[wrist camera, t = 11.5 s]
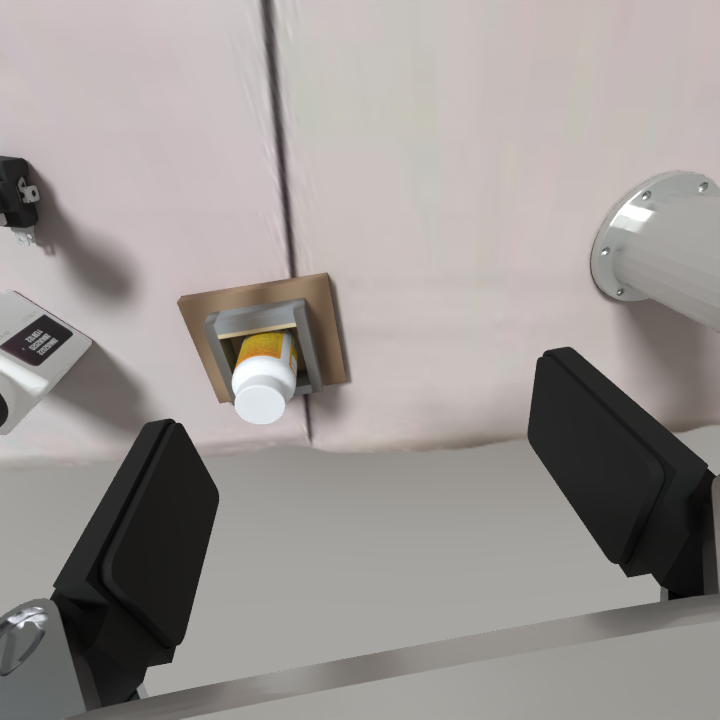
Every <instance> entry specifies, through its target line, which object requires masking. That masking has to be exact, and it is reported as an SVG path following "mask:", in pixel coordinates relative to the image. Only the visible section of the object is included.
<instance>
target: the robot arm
mask: <svg viewBox="0 0 720 720" xmlns="http://www.w3.org/2000/svg"><path fill="white" fill-rule="evenodd" d="M591 269H592V275H593V277H594V280H595V282H596V284H597V285H598V287H599V288H600V289H601V290H602V291H603V292H605V293H606V294H608V295H609V296H611V297H613V298H615V299H618V300H622V301H641V300H647V299H650V298H651V299H653V300H655V301H657V302H659V303H661V304H663V305H665V306H667V307H669V308H671V309H673V310H675V311H677V312H679V313H681V314H683V315H685V316H687V317H689V318H691V319H693V320H695V321H697V322H699V323H701V324H703V325H705V326H707V327H708V328H710V329H712V330H714V331H716V332H718V333H720V189H719V187H718V186H717V185H716V184H715V182H714V181H713V180H712V179H710V178H708V177H706V176H705V175H703V174H698V173H693V172H680V171H678V172H672V173H666V174H663V175H660V176H658V177H655V178H652V179H651V180H649V181H647V182H645V183H643V184H642V185H640V186H639V187H637V188H636V189H635V190H633V191H632V192H630V193H629V194H628V195H627V196H626V197H625V198H624V199H623V200H622V201H621V202H620V203H619V204H618V205H617V206H616V207H615V208H614V209H613V211H612V212H611V213H610V214H609V216H608V217H607V219H606V220H605V222H604V224H603V225H602V227H601V229H600V231H599V233H598V235H597V238H596V240H595V243H594V247H593V251H592V257H591ZM528 439H529V442H530V444H531V446H532V447H533V449H534V451H535V452H536V454H537V455H538V457H539V458H540V460H541V461H542V462H543V464H544V465H545V467H546V468H547V470H548V471H549V473H550V474H551V476H552V477H553V479H554V480H555V482H556V483H557V485H558V486H559V488H560V489H561V491H562V492H563V494H564V495H565V497H566V498H567V500H568V501H569V502H570V504H571V505H572V507H573V508H574V510H575V511H576V513H577V514H578V516H579V517H580V519H581V520H582V522H583V523H584V525H585V526H586V528H587V529H588V530H589V532H590V533H591V535H592V536H593V538H594V539H595V541H596V542H597V544H598V545H599V547H600V548H601V550H602V551H603V552H604V554H605V556H606V557H607V558H608V559H609V560H610V561H611V562H612V563H614V564H619V566H620V567H621V569H622V570H623V571H624V573H625V574H626V576H627V577H634V576H639V575H645V574H650V573H651V574H652V575H653V577H654V578H655V579H656V581H657V582H658V583H659V585H660V586H661V592H660V594H661V595H660V602H657V603H652V604H646V605H638V606H633V607H626V608H620V609H614V610H608V611H602V612H597V613H591V614H586V615H581V616H575V617H569V618H564V619H558V620H553V621H547V622H542V623H537V624H531V625H525V626H520V627H514V628H509V629H503V630H498V631H492V632H487V633H482V634H476V635H470V636H465V637H460V638H454V639H449V640H444V641H438V642H433V643H428V644H422V645H417V646H411V647H406V648H401V649H395V650H390V651H385V652H379V653H374V654H369V655H363V656H358V657H353V658H347V659H342V660H337V661H332V662H326V663H321V664H316V665H310V666H305V667H300V668H295V669H290V670H284V671H279V672H275V673H269V674H264V675H259V676H253V677H248V678H243V679H238V680H233V681H227V682H222V683H217V684H212V685H207V686H202V687H196V688H191V689H186V690H182V691H177V692H173V693H168V694H163V695H158V696H153V697H148V694H147V692H146V689H145V687H144V684H143V680H144V677H145V673H146V670H147V667H150V666H155V665H161V664H167V663H172V659H173V656H174V652H175V649H176V646H177V645H180V644H181V642H182V641H183V639H184V636H185V633H186V629H187V625H188V621H189V617H190V614H191V610H192V605H193V602H194V598H195V594H196V590H197V586H198V582H199V578H200V574H201V570H202V566H203V562H204V559H205V555H206V551H207V547H208V543H209V539H210V535H211V531H212V527H213V523H214V519H215V515H216V511H217V507H218V503H219V493H218V490H217V487H216V485H215V484H214V482H213V480H212V478H211V476H210V474H209V473H208V471H207V469H206V467H205V465H204V463H203V461H202V460H201V458H200V456H199V454H198V452H197V450H196V448H195V447H194V445H193V443H192V441H191V439H190V437H189V436H188V434H187V432H186V430H185V428H184V426H183V425H182V424H181V423H176V422H175V421H174V420H173V419H164V420H159V421H153V422H148V423H146V424H145V425H144V427H143V428H142V430H141V432H140V434H139V435H138V437H137V439H136V441H135V442H134V444H133V446H132V448H131V449H130V451H129V453H128V455H127V456H126V458H125V460H124V462H123V463H122V465H121V467H120V469H119V470H118V472H117V474H116V476H115V477H114V479H113V481H112V483H111V484H110V486H109V488H108V490H107V492H106V493H105V495H104V497H103V499H102V501H101V502H100V504H99V506H98V507H97V509H96V511H95V513H94V514H93V516H92V518H91V520H90V521H89V523H88V525H87V527H86V528H85V530H84V532H83V534H82V535H81V537H80V539H79V541H78V542H77V544H76V546H75V548H74V549H73V551H72V553H71V555H70V557H69V558H68V560H67V562H66V563H65V565H64V567H63V569H62V570H61V572H60V574H59V576H58V578H57V579H56V581H55V583H54V585H53V587H55V588H56V589H55V591H54V593H53V594H52V596H51V598H50V600H49V599H46V598H42V599H33V600H31V601H28V602H25V603H23V604H20V605H19V606H17V607H15V608H14V609H12V610H10V611H9V612H7V613H5V614H4V615H3V616H2V617H0V720H720V474H719V475H718V476H715V475H714V474H713V473H712V472H711V471H710V470H709V469H707V467H708V465H707V463H705V462H704V461H703V460H702V459H701V458H700V457H698V456H697V455H696V454H695V453H694V452H693V451H691V450H690V449H689V448H688V447H687V446H686V445H684V444H683V443H682V442H681V441H680V440H679V439H677V438H676V437H675V436H674V435H673V434H672V433H671V432H669V431H668V430H667V429H666V428H665V427H664V426H662V425H661V424H660V423H659V422H658V421H657V420H655V419H654V418H653V417H652V416H651V415H650V414H648V413H647V412H646V411H645V410H644V409H643V408H641V407H640V406H639V405H638V404H637V403H636V402H635V401H633V400H632V399H631V398H630V397H629V396H628V395H626V394H625V393H624V392H623V391H622V390H621V389H619V388H618V387H617V386H616V385H615V384H614V383H612V382H611V381H610V380H609V379H608V378H607V377H605V376H604V375H603V374H602V373H601V372H600V371H599V370H597V369H596V368H595V367H594V366H593V365H592V364H590V363H589V362H588V361H587V360H586V359H585V358H583V357H582V356H581V355H580V354H579V353H578V352H576V351H575V350H574V349H573V348H571V347H563V348H557V349H552V350H547V351H545V352H544V354H543V356H542V357H540V358H538V360H537V364H536V372H535V379H534V387H533V394H532V402H531V410H530V417H529V425H528Z"/></svg>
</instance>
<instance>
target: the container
mask: <svg viewBox="0 0 720 720" xmlns="http://www.w3.org/2000/svg"><path fill="white" fill-rule="evenodd" d="M91 344H92V340H91V339H89V338H88V337H86V336H84V335H83V334H81V333H80V332H78V331H76V330H75V329H73V328H72V327H70V326H69V325H67V324H65V323H64V322H62V321H61V320H59V319H57V318H56V317H54V316H53V315H51V314H49V313H48V312H46V311H45V310H43V309H41V308H40V307H38V306H37V305H35V304H33V303H32V302H30V301H29V300H27V299H25V298H24V297H22V296H21V295H19V294H18V293H16V292H14V291H13V290H6V291H4V292H2V293H0V434H1V435H6V434H8V433H10V432H11V431H12V430H13V429H14V427H15V426H16V425H17V424H18V423H19V422H20V421H21V420H22V419H23V418H24V417H25V416H26V415H27V414H28V413H29V412H30V411H31V410H32V409H33V408H34V407H35V406H36V405H37V404H38V403H39V402H40V401H41V400H42V399H43V398H44V397H45V395H46V394H47V393H48V392H49V391H50V390H51V389H52V388H53V387H54V386H55V385H56V384H57V383H58V382H59V381H60V379H61V378H62V377H63V376H64V375H65V374H66V373H67V372H68V371H69V369H70V368H71V367H72V366H73V365H74V364H75V363H76V362H77V360H78V359H79V358H80V357H81V356H82V355H83V354H84V353H85V351H86V350H87V349H88V348H89V347H90V346H91Z"/></svg>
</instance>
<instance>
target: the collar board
mask: <svg viewBox="0 0 720 720" xmlns="http://www.w3.org/2000/svg"><path fill="white" fill-rule="evenodd" d="M177 304H178V306H179V309H180V311H181V313H182V316H183V318H184V321H185V323H186V325H187V328H188V330H189V332H190V335H191V337H192V339H193V342H194V344H195V347H196V349H197V351H198V354H199V356H200V358H201V361H202V363H203V365H204V368H205V370H206V372H207V375H208V377H209V380H210V382H211V384H212V387H213V389H214V391H215V394H216V396H217V398H218V401H219V403H225V402H231V401H232V403H233V406H235V398H236V396H235V394H234V392H233V389H232V377H233V373H234V370H235V367H236V363H237V360H238V357H239V354H240V350H241V347H242V343H243V340H244V338H245V336H246V335H248V334H254V333H260V332H266V331H272V330H278V329H284V328H287V329H288V330H289V331H290V332H291V333H292V334H293V335H294V337H295V339H296V341H297V345H298V357H297V375H296V388H295V392H294V394H293V396H296V395H302V394H308V393H314V392H320V391H322V386H324V385H330V384H335V383H341V382H346V376H345V370H344V365H343V359H342V353H341V348H340V342H339V336H338V331H337V325H336V320H335V314H334V308H333V303H332V297H331V292H330V286H329V280H328V275H327V273H322V274H316V275H310V276H304V277H298V278H291V279H285V280H279V281H273V282H267V283H260V284H254V285H248V286H242V287H236V288H229V289H223V290H217V291H211V292H205V293H199V294H192V295H186V296H181V298H180V299H179V300H178V302H177Z"/></svg>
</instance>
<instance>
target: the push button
mask: <svg viewBox="0 0 720 720" xmlns="http://www.w3.org/2000/svg"><path fill="white" fill-rule="evenodd" d="M26 173H28V166H27V163H26V161H25V160H24V159H23V158H15V157H6V156H0V226H5V227H11V230H12V231H13V232H14V233H15V236H16V238H17V241H18V244H19V245H22V246H30V243H36V242H37V241H36V238H35V235H34V231H33V230H35V228H34V225H35V224H36V222H38V215H37V212H36V209H35V205H34V201H38V200H39V198H40V197H39V194H38V190H37V187H36V186H35V185H32V186H28V183H27V180H26V176H25V174H26ZM32 190H33V191H34V192H35V196H33V195H32ZM27 234H30V235H31V236H32V239H29V238H28V237H27ZM20 237H23V238H24V239H25V242H23V241H21V240H20Z"/></svg>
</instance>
